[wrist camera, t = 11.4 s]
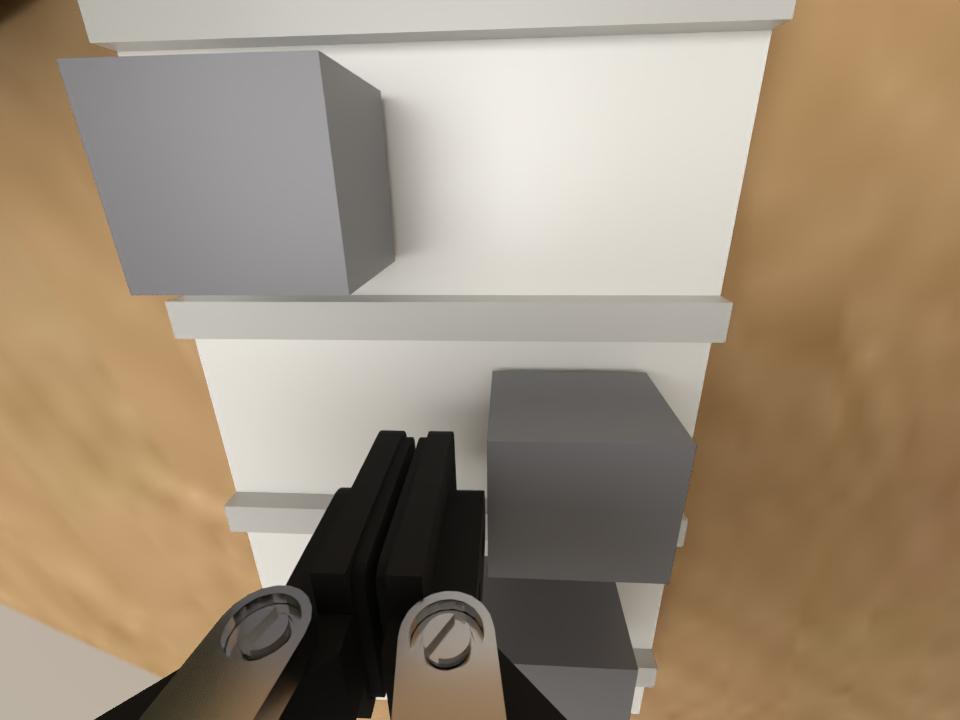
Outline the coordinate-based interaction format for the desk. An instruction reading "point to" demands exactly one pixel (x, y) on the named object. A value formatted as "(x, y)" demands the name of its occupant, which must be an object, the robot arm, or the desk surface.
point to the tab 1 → (236, 170)
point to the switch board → (481, 231)
